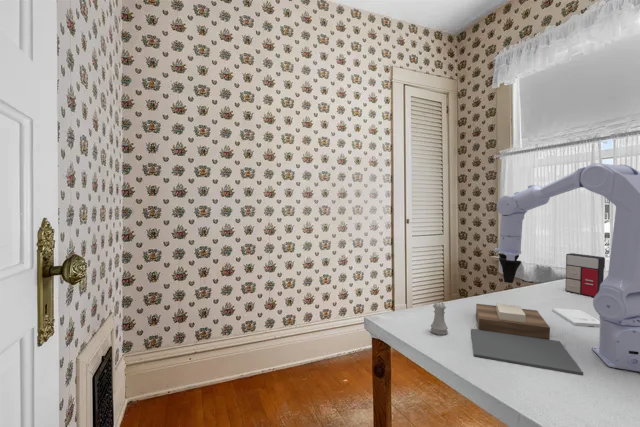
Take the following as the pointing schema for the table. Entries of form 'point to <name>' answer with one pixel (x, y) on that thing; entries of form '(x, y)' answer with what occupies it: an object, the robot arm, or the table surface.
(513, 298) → the table surface
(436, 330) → the rook chess piece
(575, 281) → the red and grey box
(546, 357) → the rubber mat
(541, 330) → the walnut deck
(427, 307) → the table surface
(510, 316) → the ivory tile
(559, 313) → the external hard drive
